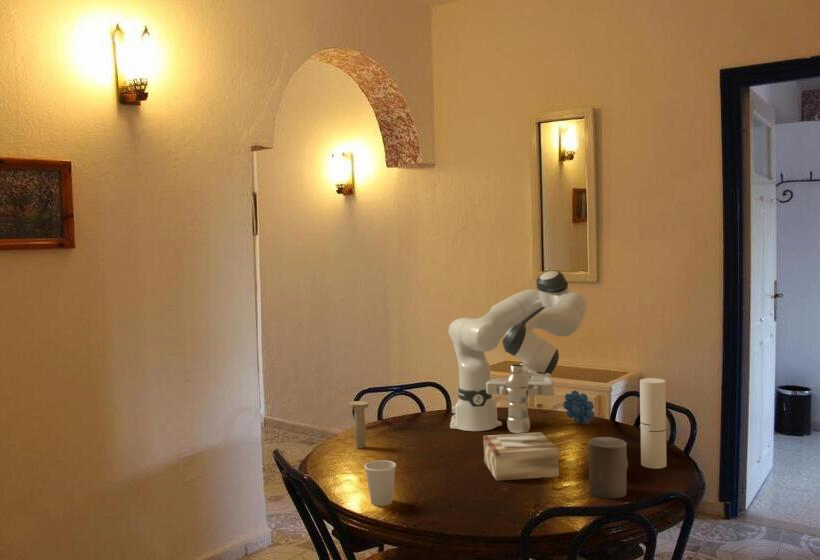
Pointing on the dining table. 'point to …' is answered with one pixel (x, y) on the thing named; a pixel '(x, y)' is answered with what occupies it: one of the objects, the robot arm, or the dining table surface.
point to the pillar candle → (608, 467)
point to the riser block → (521, 456)
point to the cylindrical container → (653, 422)
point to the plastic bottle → (517, 400)
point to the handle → (359, 422)
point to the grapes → (578, 407)
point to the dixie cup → (380, 481)
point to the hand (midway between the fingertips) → (517, 392)
